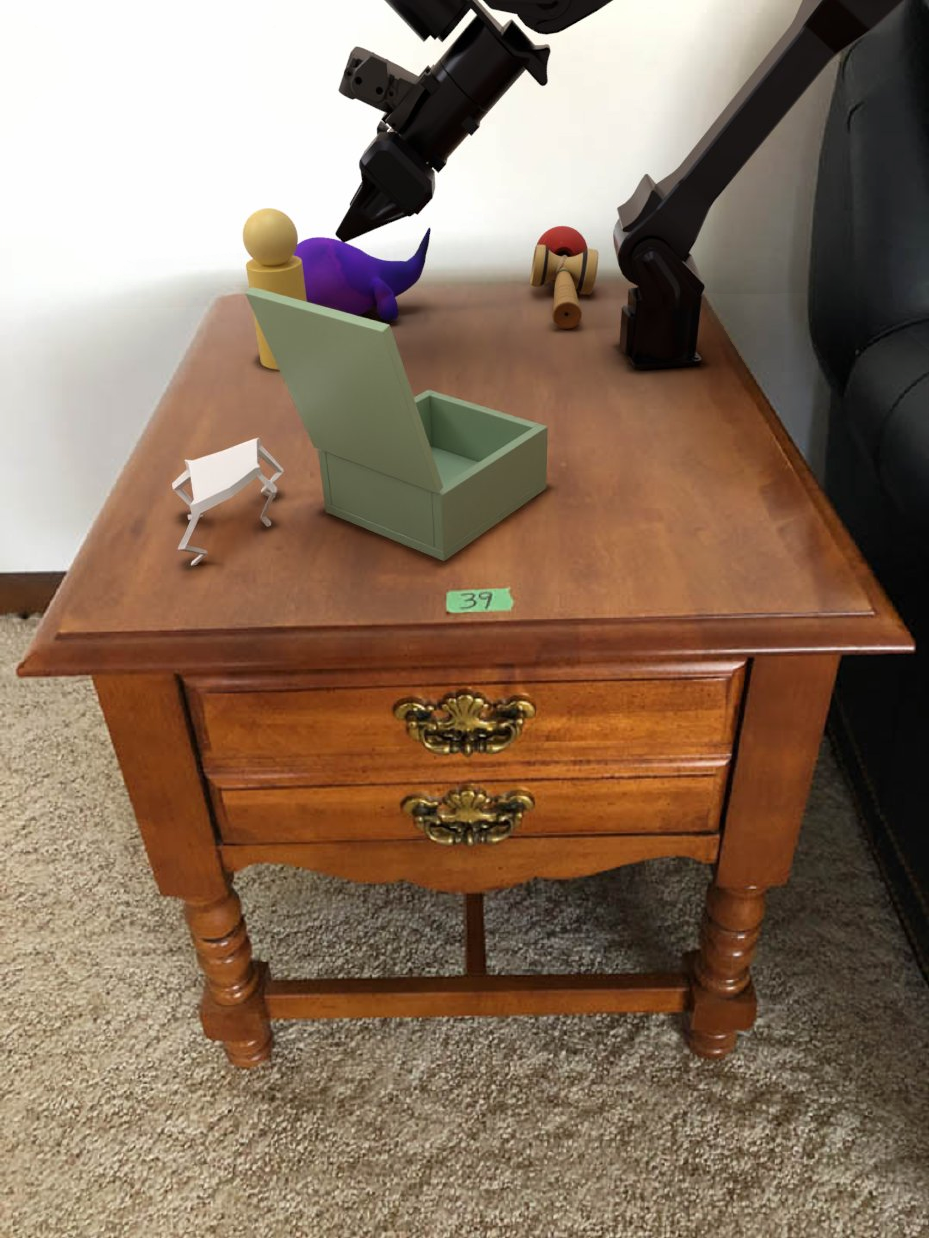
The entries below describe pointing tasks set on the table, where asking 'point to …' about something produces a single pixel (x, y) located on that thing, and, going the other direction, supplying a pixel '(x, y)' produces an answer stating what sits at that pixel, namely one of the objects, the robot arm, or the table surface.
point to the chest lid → (348, 386)
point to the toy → (356, 276)
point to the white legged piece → (223, 482)
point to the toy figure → (273, 263)
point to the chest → (445, 478)
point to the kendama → (565, 271)
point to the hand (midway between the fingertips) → (346, 223)
